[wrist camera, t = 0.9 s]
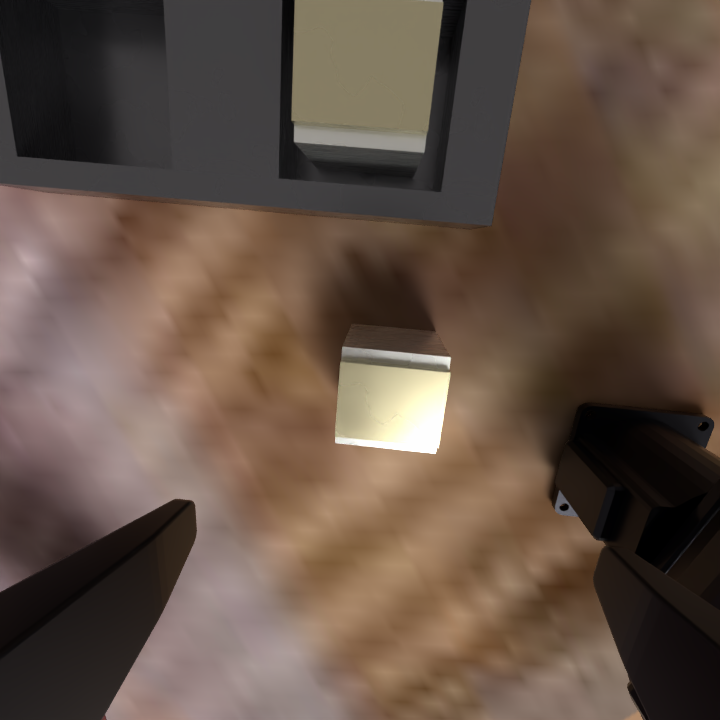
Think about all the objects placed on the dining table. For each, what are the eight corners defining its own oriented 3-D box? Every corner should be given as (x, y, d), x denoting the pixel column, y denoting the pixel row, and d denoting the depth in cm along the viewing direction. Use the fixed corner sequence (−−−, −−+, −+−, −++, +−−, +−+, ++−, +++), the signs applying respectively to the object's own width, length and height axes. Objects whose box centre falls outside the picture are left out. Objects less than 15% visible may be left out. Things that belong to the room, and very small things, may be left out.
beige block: (426, 62, 15) (446, -20, 11) (413, 177, 17) (425, 149, 12) (322, 54, 15) (295, -31, 11) (317, 169, 17) (291, 138, 12)
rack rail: (505, 16, 15) (539, -48, 12) (470, 229, 18) (491, 225, 14) (17, -18, 16) (-82, -87, 12) (47, 192, 18) (-29, 180, 15)
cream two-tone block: (435, 331, 19) (452, 360, 14) (424, 408, 20) (436, 458, 16) (351, 323, 19) (341, 349, 14) (345, 400, 20) (334, 447, 16)
